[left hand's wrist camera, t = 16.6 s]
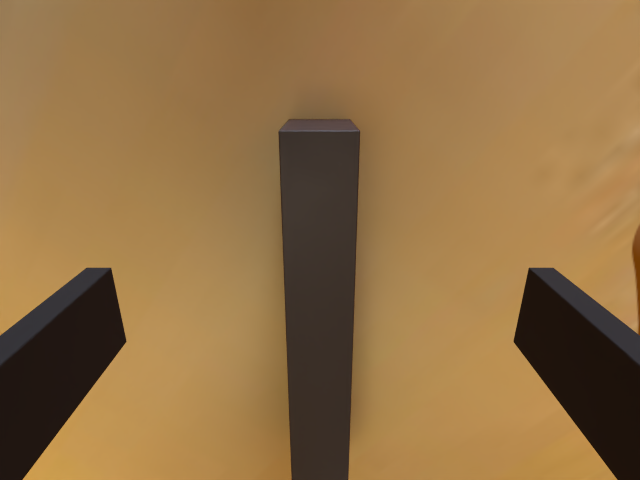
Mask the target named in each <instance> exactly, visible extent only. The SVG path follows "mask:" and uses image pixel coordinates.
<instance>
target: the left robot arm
mask: <svg viewBox="0 0 640 480" xmlns="http://www.w3.org/2000/svg"><path fill="white" fill-rule="evenodd" d="M125 343H126V337H125V332H124V328H123V323H122V318H121V313H120V308H119V304H118V299H117V294H116V289H115V284H114V280H113V275H112V270H111V268H86V269H85V270H83V271H82V272H81V273H80V274H78V275H77V276H76V277H74V278H73V279H72V280H71V281H69V282H68V283H67V284H66V285H64V286H63V287H62V288H60V289H59V290H58V291H57V292H55V293H54V294H53V295H52V296H50V297H49V298H48V299H46V300H45V301H44V302H43V303H41V304H40V305H39V306H37V307H36V308H35V309H34V310H32V311H31V312H30V313H29V314H27V315H26V316H25V317H23V318H22V319H21V320H20V321H18V322H17V323H16V324H15V325H13V326H12V327H11V328H9V329H8V330H7V331H6V332H4V333H3V334H2V335H1V336H0V480H23V478H24V477H25V476H26V474H27V473H28V472H29V470H30V469H31V468H32V466H33V465H34V464H35V462H36V461H37V460H38V458H39V457H40V456H41V454H42V453H43V452H44V450H45V449H46V448H47V446H48V445H49V444H50V442H51V441H52V440H53V438H54V437H55V436H56V434H57V433H58V432H59V430H60V429H61V428H62V426H63V425H64V424H65V422H66V421H67V420H68V419H69V417H70V416H71V415H72V413H73V412H74V411H75V409H76V408H77V407H78V405H79V404H80V403H81V401H82V400H83V399H84V397H85V396H86V395H87V393H88V392H89V391H90V389H91V388H92V387H93V385H94V384H95V383H96V381H97V380H98V379H99V377H100V376H101V375H102V373H103V372H104V371H105V369H106V368H107V367H108V365H109V364H110V363H111V361H112V360H113V359H114V357H115V356H116V355H117V354H118V352H119V351H120V350H121V348H122V347H123V346H124V344H125ZM514 343H515V344H516V346H517V347H518V348H519V350H520V351H521V352H522V354H523V355H524V356H525V357H526V359H527V360H528V361H529V363H530V364H531V365H532V367H533V368H534V369H535V371H536V372H537V373H538V375H539V376H540V377H541V379H542V380H543V381H544V383H545V384H546V385H547V387H548V388H549V389H550V391H551V392H552V393H553V395H554V396H555V397H556V399H557V400H558V401H559V403H560V404H561V405H562V407H563V408H564V409H565V411H566V412H567V413H568V415H569V416H570V417H571V419H572V420H573V421H574V422H575V424H576V425H577V426H578V428H579V429H580V430H581V432H582V433H583V434H584V436H585V437H586V438H587V440H588V441H589V442H590V444H591V445H592V446H593V448H594V449H595V450H596V452H597V453H598V454H599V456H600V457H601V458H602V460H603V461H604V462H605V464H606V465H607V466H608V468H609V469H610V470H611V472H612V473H613V474H614V476H615V477H616V478H617V480H640V336H639V335H638V334H637V333H636V332H634V331H633V330H632V329H631V328H629V327H628V326H627V325H625V324H624V323H623V322H622V321H620V320H619V319H618V318H617V317H615V316H614V315H613V314H611V313H610V312H609V311H608V310H606V309H605V308H604V307H603V306H601V305H600V304H599V303H597V302H596V301H595V300H594V299H592V298H591V297H590V296H588V295H587V294H586V293H585V292H583V291H582V290H581V289H580V288H578V287H577V286H576V285H574V284H573V283H572V282H571V281H569V280H568V279H567V278H566V277H564V276H563V275H562V274H560V273H559V272H558V271H557V270H555V269H554V268H529V270H528V275H527V280H526V284H525V289H524V294H523V299H522V304H521V308H520V313H519V318H518V323H517V328H516V332H515V337H514Z"/></svg>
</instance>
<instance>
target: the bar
mask: <svg viewBox="0 0 640 480" xmlns="http://www.w3.org/2000/svg"><path fill="white" fill-rule="evenodd" d="M359 148H360V131H359V129H358V128H357V127H356V126H355V125H354V123H353V122H352V121H351V120H350V119H289V120H288V121H287V122H286V123H285V125H284V126H283V127H282V128H281V129H280V130H279V154H280V181H281V208H282V234H283V261H284V287H285V314H286V341H287V367H288V394H289V420H290V447H291V473H292V480H348V471H349V441H350V412H351V383H352V353H353V324H354V295H355V265H356V236H357V206H358V177H359Z"/></svg>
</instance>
